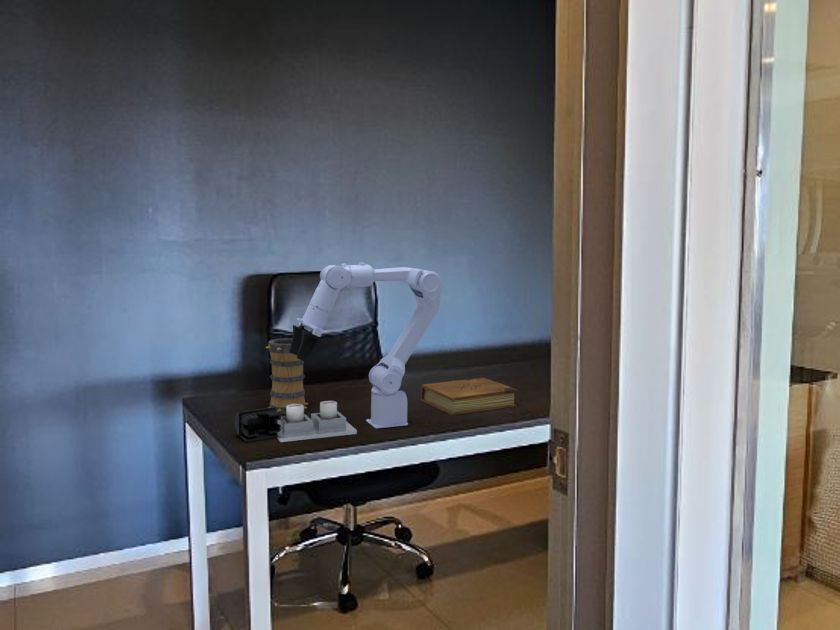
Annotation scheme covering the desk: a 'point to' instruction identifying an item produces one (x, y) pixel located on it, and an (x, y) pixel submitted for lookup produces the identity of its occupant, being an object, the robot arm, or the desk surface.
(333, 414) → the knob
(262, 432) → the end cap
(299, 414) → the knob
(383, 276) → the robot arm
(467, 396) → the diary
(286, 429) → the mount
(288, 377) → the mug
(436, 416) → the desk surface
